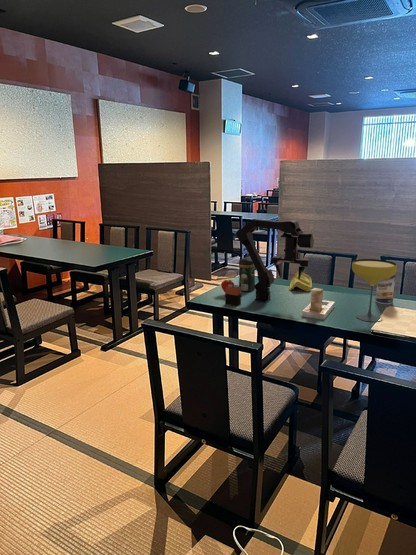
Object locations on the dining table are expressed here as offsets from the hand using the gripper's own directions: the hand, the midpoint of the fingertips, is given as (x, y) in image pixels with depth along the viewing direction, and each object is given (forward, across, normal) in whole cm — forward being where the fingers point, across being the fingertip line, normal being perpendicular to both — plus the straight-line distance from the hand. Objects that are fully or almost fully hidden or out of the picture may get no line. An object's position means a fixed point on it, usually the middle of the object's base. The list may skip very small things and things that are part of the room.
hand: (290, 278), depth 198 cm
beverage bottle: (+14, -40, -26) cm, 50 cm away
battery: (+13, +24, +14) cm, 31 cm away
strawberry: (+13, +34, +1) cm, 37 cm away
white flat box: (+13, -16, +4) cm, 21 cm away
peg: (+13, -16, +10) cm, 23 cm away
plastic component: (+14, +5, -34) cm, 37 cm away
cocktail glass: (+14, -38, +2) cm, 40 cm away
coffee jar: (+13, +30, -14) cm, 35 cm away
